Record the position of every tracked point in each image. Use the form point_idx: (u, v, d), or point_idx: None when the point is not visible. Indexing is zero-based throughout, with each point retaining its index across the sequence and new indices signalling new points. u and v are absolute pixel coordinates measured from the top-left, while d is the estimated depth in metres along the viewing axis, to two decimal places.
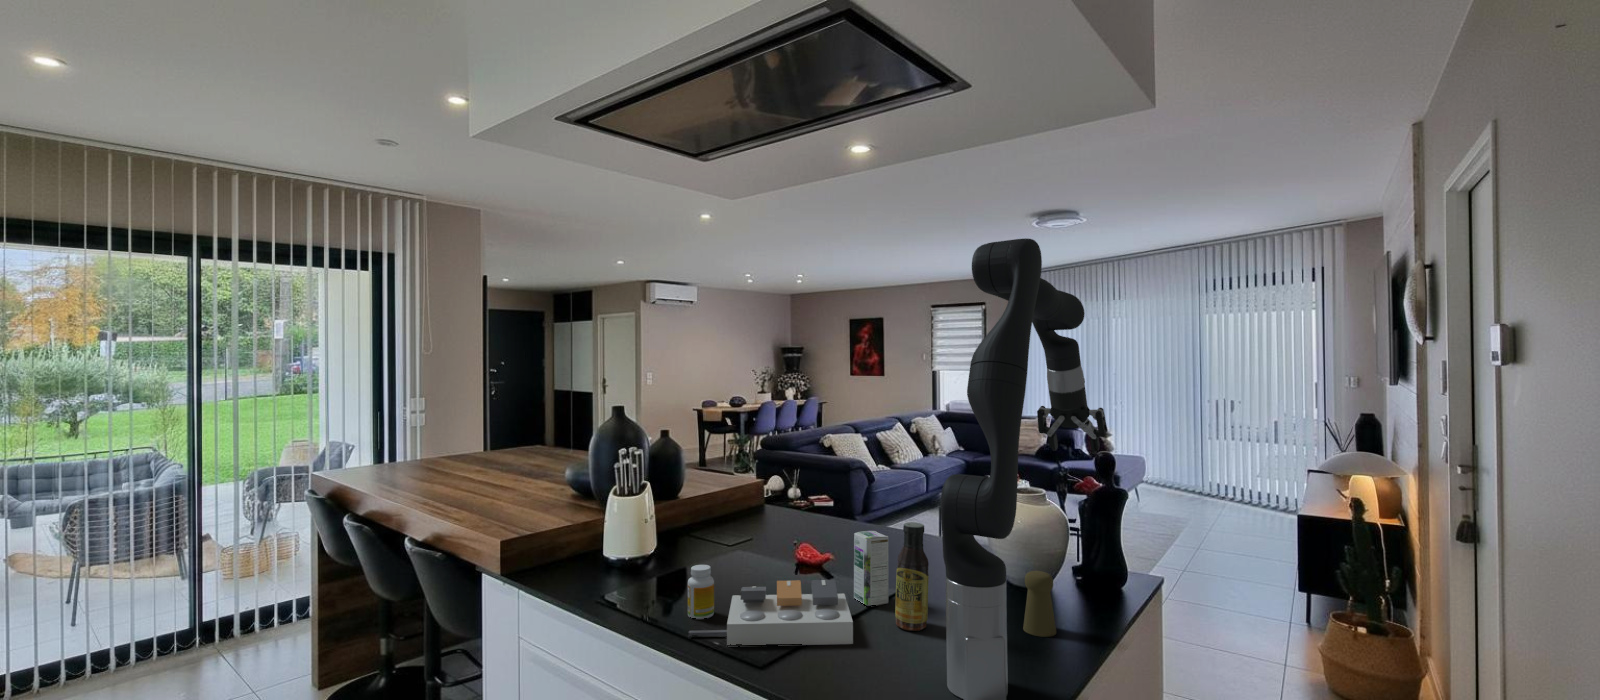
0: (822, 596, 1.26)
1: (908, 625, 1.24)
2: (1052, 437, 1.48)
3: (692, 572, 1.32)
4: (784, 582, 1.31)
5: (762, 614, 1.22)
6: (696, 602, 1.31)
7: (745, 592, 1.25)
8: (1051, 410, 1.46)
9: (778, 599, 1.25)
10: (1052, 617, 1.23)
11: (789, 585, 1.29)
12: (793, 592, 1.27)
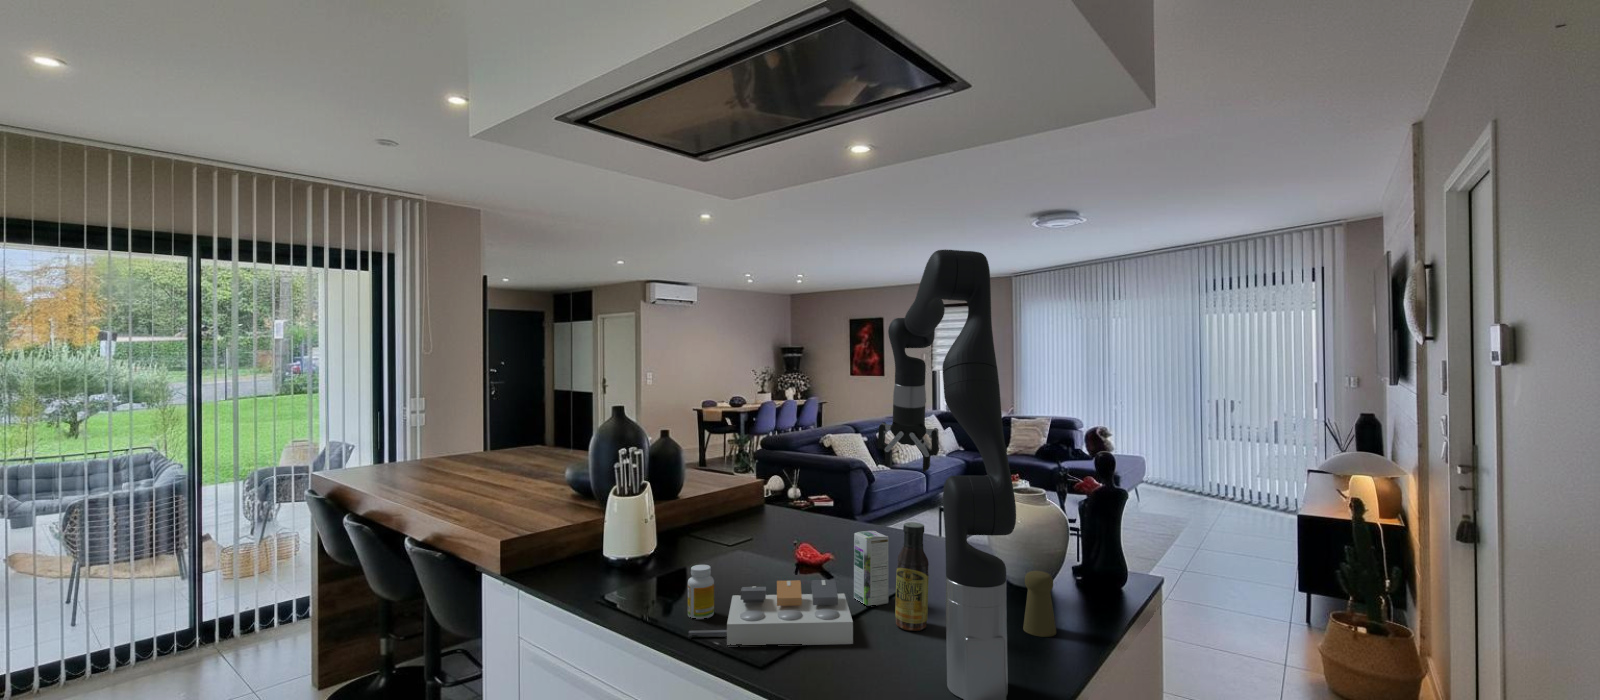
0: (822, 596, 1.26)
1: (908, 625, 1.24)
2: (889, 453, 1.55)
3: (692, 572, 1.32)
4: (784, 582, 1.31)
5: (762, 614, 1.22)
6: (696, 603, 1.31)
7: (745, 592, 1.25)
8: (892, 426, 1.54)
9: (778, 599, 1.25)
10: (1052, 617, 1.23)
11: (789, 585, 1.29)
12: (793, 592, 1.27)
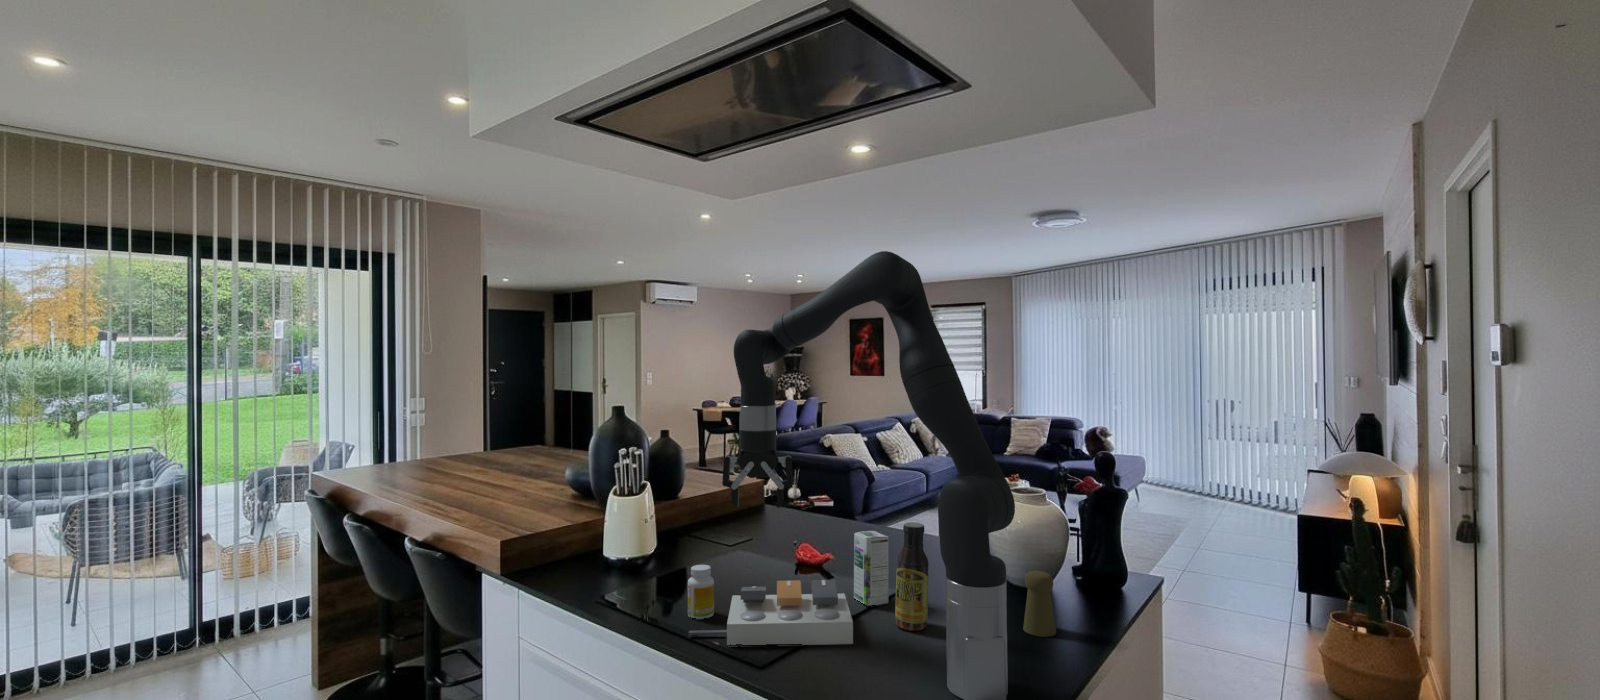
0: (822, 596, 1.26)
1: (908, 625, 1.24)
2: (736, 490, 1.31)
3: (692, 572, 1.32)
4: (784, 582, 1.31)
5: (762, 614, 1.22)
6: (696, 602, 1.31)
7: (745, 592, 1.25)
8: (739, 457, 1.31)
9: (778, 599, 1.25)
10: (1052, 617, 1.23)
11: (789, 585, 1.29)
12: (793, 592, 1.27)
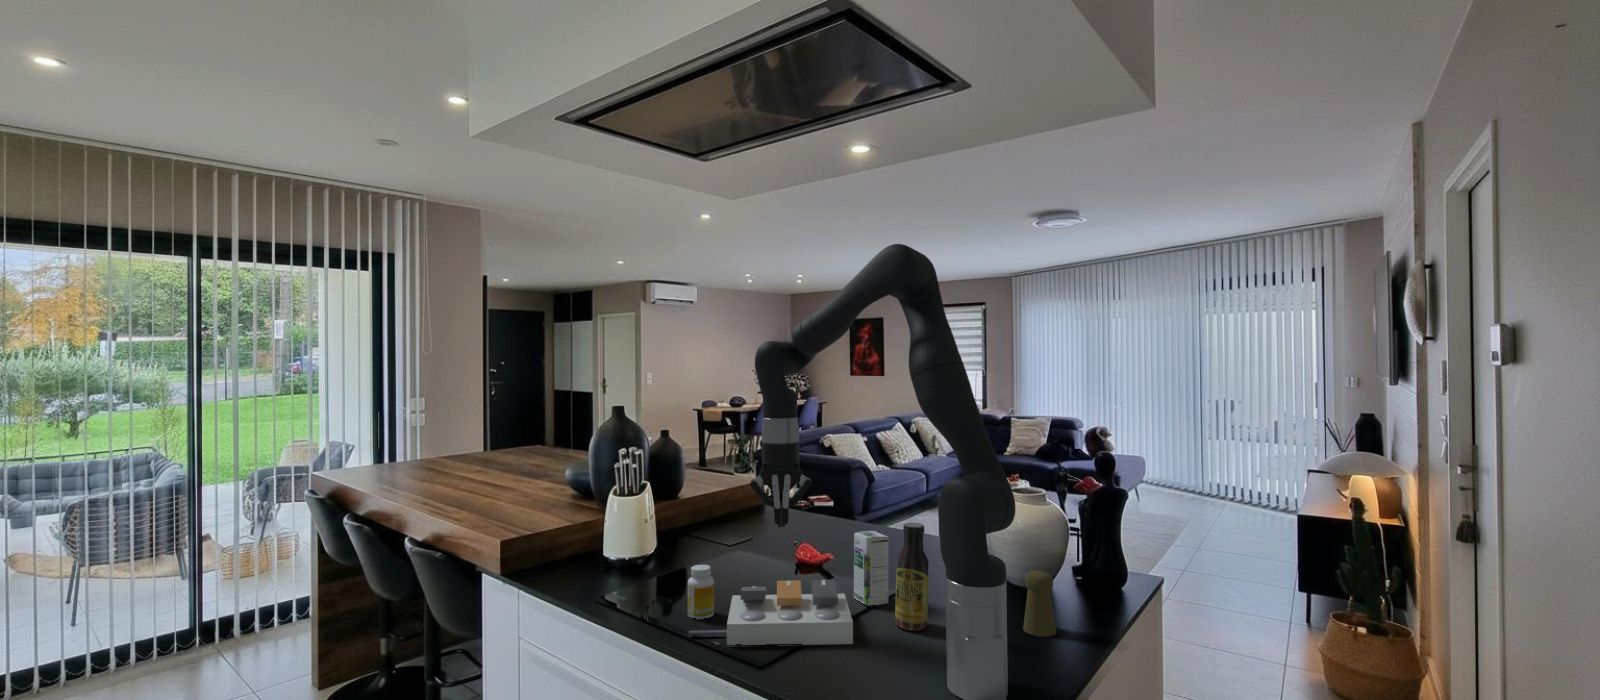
0: (822, 596, 1.26)
1: (908, 625, 1.24)
2: (779, 509, 1.30)
3: (692, 572, 1.32)
4: (784, 582, 1.31)
5: (762, 614, 1.22)
6: (696, 602, 1.31)
7: (745, 592, 1.25)
8: (761, 473, 1.30)
9: (778, 599, 1.25)
10: (1052, 617, 1.23)
11: (789, 585, 1.29)
12: (793, 592, 1.27)
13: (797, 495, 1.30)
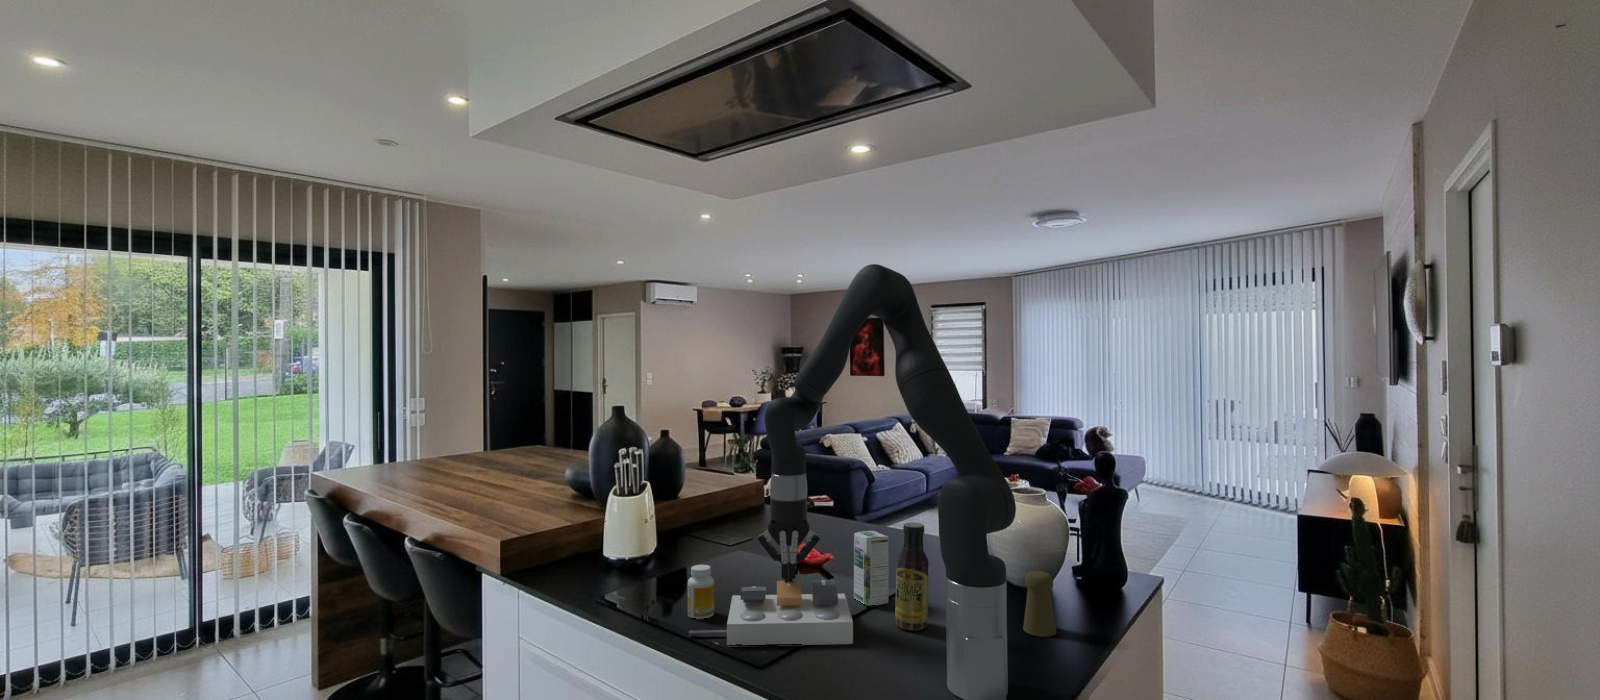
0: (822, 596, 1.26)
1: (908, 625, 1.24)
2: (787, 565, 1.31)
3: (692, 572, 1.32)
4: (784, 582, 1.31)
5: (762, 614, 1.22)
6: (696, 602, 1.31)
7: (745, 592, 1.25)
8: (769, 528, 1.31)
9: (778, 599, 1.25)
10: (1052, 617, 1.23)
11: (789, 585, 1.29)
12: (793, 591, 1.27)
13: (804, 551, 1.31)
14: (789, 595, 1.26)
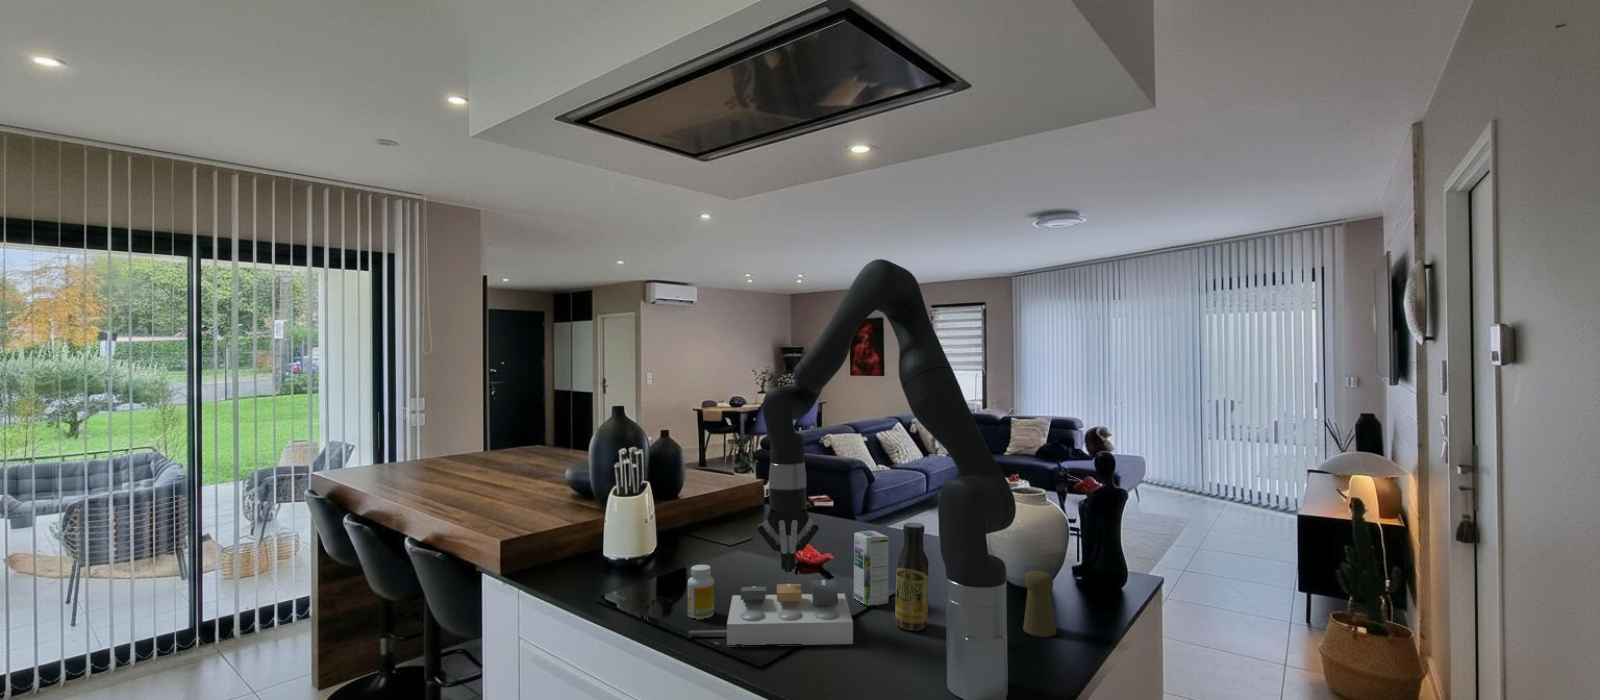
0: (822, 596, 1.26)
1: (908, 625, 1.24)
2: (786, 555, 1.30)
3: (692, 572, 1.32)
4: (784, 585, 1.31)
5: (762, 614, 1.22)
6: (696, 603, 1.31)
7: (745, 592, 1.25)
8: (768, 518, 1.30)
9: (778, 594, 1.25)
10: (1052, 617, 1.23)
11: (789, 586, 1.30)
12: (793, 589, 1.27)
13: (804, 540, 1.30)
14: (789, 591, 1.26)
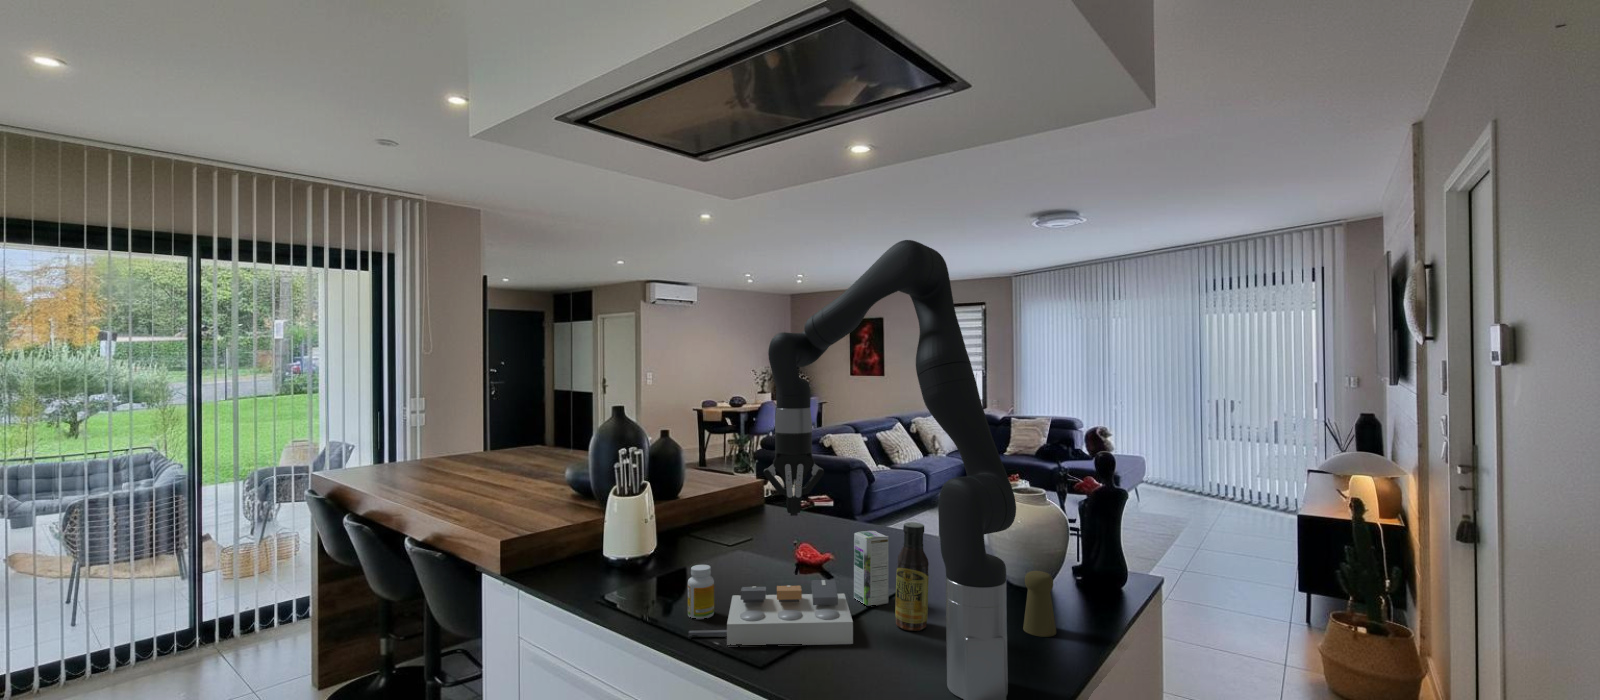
0: (822, 596, 1.26)
1: (908, 625, 1.24)
2: (792, 498, 1.32)
3: (692, 572, 1.32)
4: (784, 586, 1.31)
5: (762, 614, 1.22)
6: (696, 603, 1.31)
7: (745, 592, 1.25)
8: (774, 462, 1.32)
9: (778, 592, 1.25)
10: (1052, 617, 1.23)
11: (789, 587, 1.30)
12: (793, 588, 1.28)
13: (810, 484, 1.32)
14: (789, 590, 1.26)
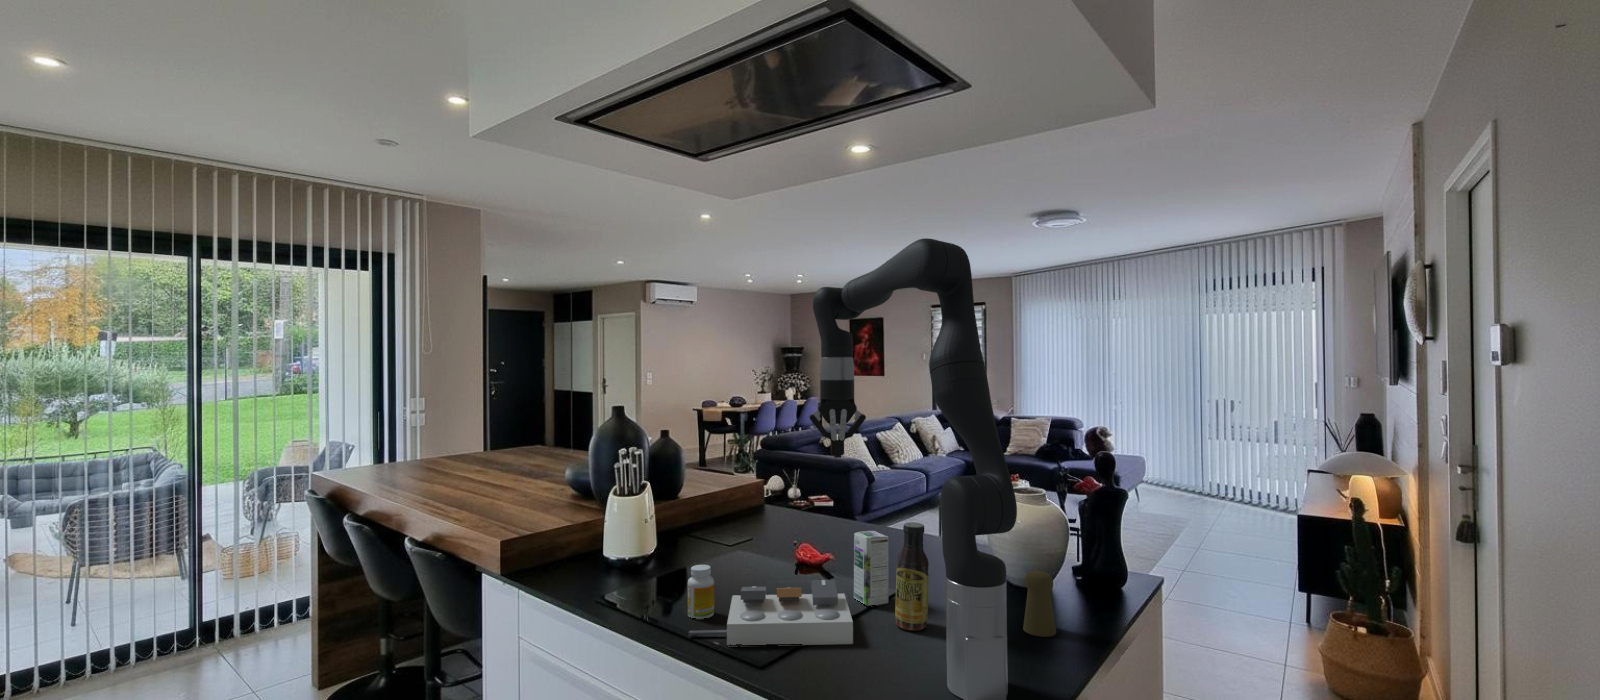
0: (822, 596, 1.26)
1: (908, 625, 1.24)
2: (836, 441, 1.41)
3: (692, 572, 1.32)
4: None
5: (762, 614, 1.22)
6: (696, 603, 1.31)
7: (745, 592, 1.25)
8: (819, 407, 1.41)
9: (778, 589, 1.26)
10: (1052, 617, 1.23)
11: (789, 588, 1.30)
12: None
13: (852, 428, 1.41)
14: None
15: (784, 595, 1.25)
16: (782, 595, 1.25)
